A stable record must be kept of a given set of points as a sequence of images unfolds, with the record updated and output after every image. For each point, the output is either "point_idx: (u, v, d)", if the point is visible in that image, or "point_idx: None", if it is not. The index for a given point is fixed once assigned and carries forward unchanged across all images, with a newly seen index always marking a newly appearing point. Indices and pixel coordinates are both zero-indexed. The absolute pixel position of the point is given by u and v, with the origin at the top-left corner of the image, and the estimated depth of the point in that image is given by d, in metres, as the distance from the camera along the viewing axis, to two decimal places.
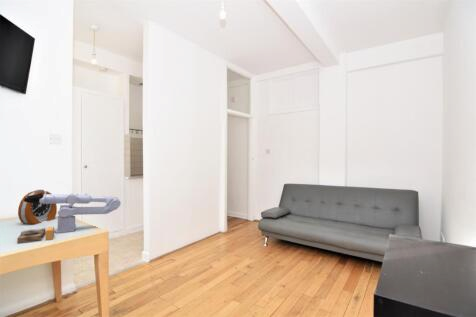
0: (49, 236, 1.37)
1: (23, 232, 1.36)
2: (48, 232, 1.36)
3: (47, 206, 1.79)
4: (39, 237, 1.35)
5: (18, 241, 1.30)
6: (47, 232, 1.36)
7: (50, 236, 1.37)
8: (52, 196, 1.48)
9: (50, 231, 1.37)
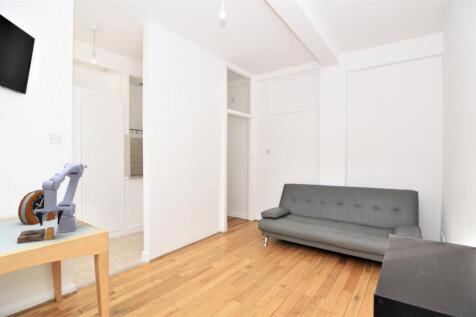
0: (49, 236, 1.37)
1: (23, 232, 1.36)
2: (48, 232, 1.36)
3: None
4: (39, 237, 1.35)
5: (18, 241, 1.30)
6: (47, 232, 1.36)
7: (50, 236, 1.37)
8: (54, 202, 1.39)
9: (50, 231, 1.37)
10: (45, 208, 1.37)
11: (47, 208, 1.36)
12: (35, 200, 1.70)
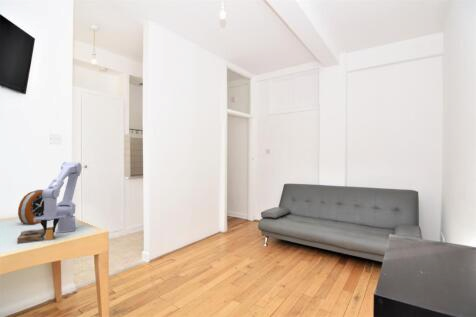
0: (49, 236, 1.36)
1: (23, 232, 1.36)
2: (48, 232, 1.36)
3: None
4: (39, 237, 1.35)
5: (18, 241, 1.30)
6: (47, 232, 1.36)
7: (50, 236, 1.37)
8: (54, 210, 1.39)
9: (50, 231, 1.37)
10: (45, 216, 1.37)
11: (47, 216, 1.37)
12: (35, 200, 1.70)
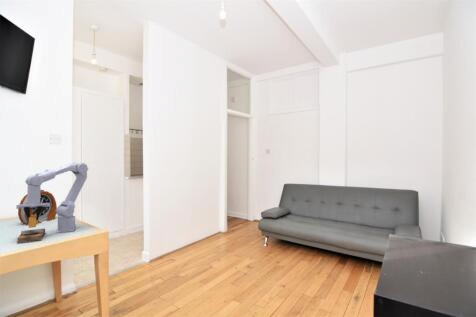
0: (32, 223, 1.36)
1: (23, 232, 1.36)
2: (31, 219, 1.36)
3: None
4: (39, 237, 1.35)
5: (18, 241, 1.30)
6: (30, 219, 1.35)
7: (33, 223, 1.36)
8: (37, 198, 1.38)
9: (33, 218, 1.36)
10: (28, 203, 1.36)
11: (30, 203, 1.36)
12: None
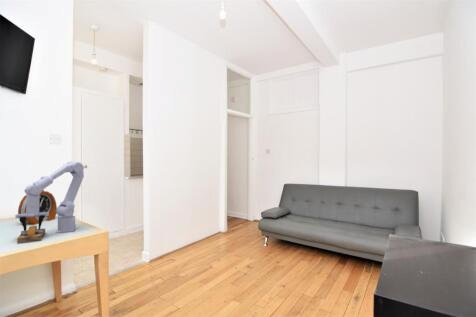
0: None
1: (23, 232, 1.36)
2: (30, 231, 1.36)
3: (47, 206, 1.79)
4: (39, 237, 1.35)
5: (18, 241, 1.30)
6: (29, 231, 1.35)
7: None
8: (36, 207, 1.38)
9: (32, 230, 1.36)
10: (27, 213, 1.36)
11: (29, 213, 1.36)
12: None
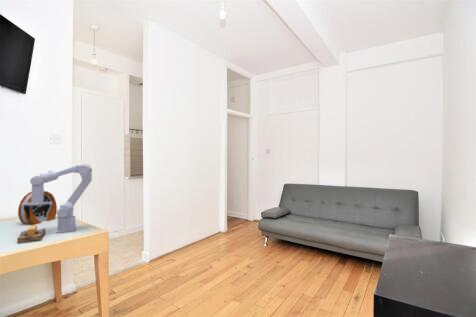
0: None
1: (23, 232, 1.36)
2: (30, 231, 1.36)
3: None
4: (39, 237, 1.35)
5: (18, 241, 1.30)
6: (29, 231, 1.35)
7: None
8: (41, 197, 1.47)
9: (32, 230, 1.36)
10: (32, 202, 1.45)
11: (34, 202, 1.45)
12: None
